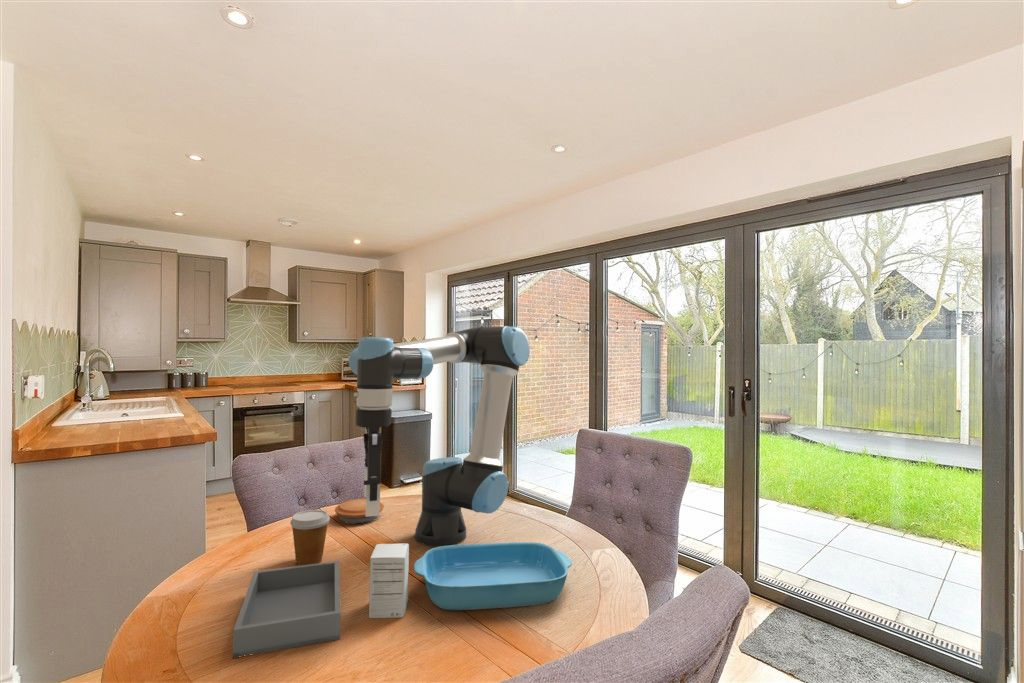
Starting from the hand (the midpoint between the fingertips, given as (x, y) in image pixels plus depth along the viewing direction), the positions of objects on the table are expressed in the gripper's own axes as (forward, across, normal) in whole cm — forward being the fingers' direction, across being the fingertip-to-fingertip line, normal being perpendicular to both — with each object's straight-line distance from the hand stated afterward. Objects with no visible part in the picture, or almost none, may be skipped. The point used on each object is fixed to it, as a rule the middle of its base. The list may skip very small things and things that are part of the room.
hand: (371, 505), depth 104 cm
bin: (+22, -1, -15) cm, 26 cm away
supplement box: (+22, +3, +4) cm, 22 cm away
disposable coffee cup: (+22, -27, -14) cm, 37 cm away
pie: (+22, -57, -1) cm, 61 cm away
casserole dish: (+22, +1, +28) cm, 36 cm away
